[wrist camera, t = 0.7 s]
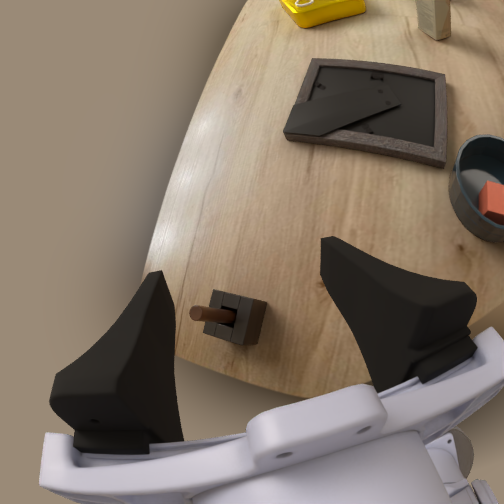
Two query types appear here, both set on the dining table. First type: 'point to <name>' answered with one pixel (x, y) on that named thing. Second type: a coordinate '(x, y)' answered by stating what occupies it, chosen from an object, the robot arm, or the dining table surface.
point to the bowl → (477, 183)
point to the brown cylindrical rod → (212, 314)
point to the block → (492, 202)
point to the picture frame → (372, 109)
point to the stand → (237, 318)
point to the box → (434, 17)
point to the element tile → (321, 10)
